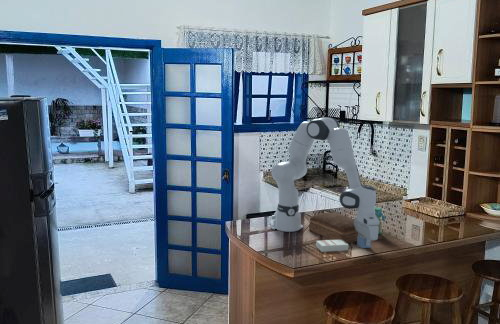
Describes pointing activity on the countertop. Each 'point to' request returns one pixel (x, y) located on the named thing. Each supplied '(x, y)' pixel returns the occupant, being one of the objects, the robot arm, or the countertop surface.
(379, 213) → the toy
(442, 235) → the countertop surface
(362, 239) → the light blue cube
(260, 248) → the countertop surface
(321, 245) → the white flat box
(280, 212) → the robot arm
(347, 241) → the bread
